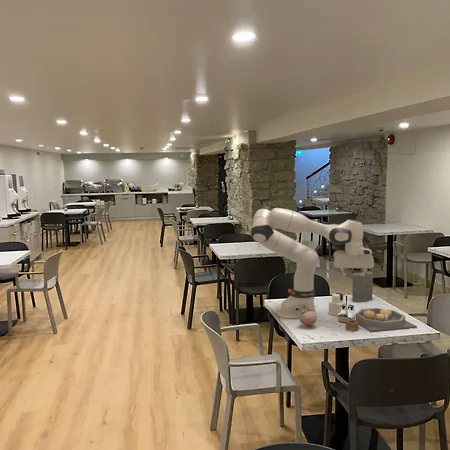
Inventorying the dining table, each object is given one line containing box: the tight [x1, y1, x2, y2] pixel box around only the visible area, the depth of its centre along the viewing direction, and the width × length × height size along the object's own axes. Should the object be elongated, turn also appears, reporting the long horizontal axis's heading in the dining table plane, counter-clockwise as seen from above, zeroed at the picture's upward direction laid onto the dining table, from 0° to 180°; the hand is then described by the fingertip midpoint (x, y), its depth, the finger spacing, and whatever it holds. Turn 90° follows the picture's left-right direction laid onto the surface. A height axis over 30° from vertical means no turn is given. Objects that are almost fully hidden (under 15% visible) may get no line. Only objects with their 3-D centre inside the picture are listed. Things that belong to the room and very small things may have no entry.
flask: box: [351, 268, 374, 303], centre depth 282 cm, size 15×6×20 cm, turn 118°
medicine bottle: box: [328, 292, 347, 317], centre depth 255 cm, size 7×7×12 cm
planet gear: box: [345, 319, 360, 332], centre depth 230 cm, size 6×6×4 cm
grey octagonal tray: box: [354, 307, 418, 333], centre depth 241 cm, size 26×26×6 cm
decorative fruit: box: [298, 308, 318, 328], centre depth 235 cm, size 9×8×10 cm
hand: (353, 276), depth 237 cm, fingers open, 8 cm apart
